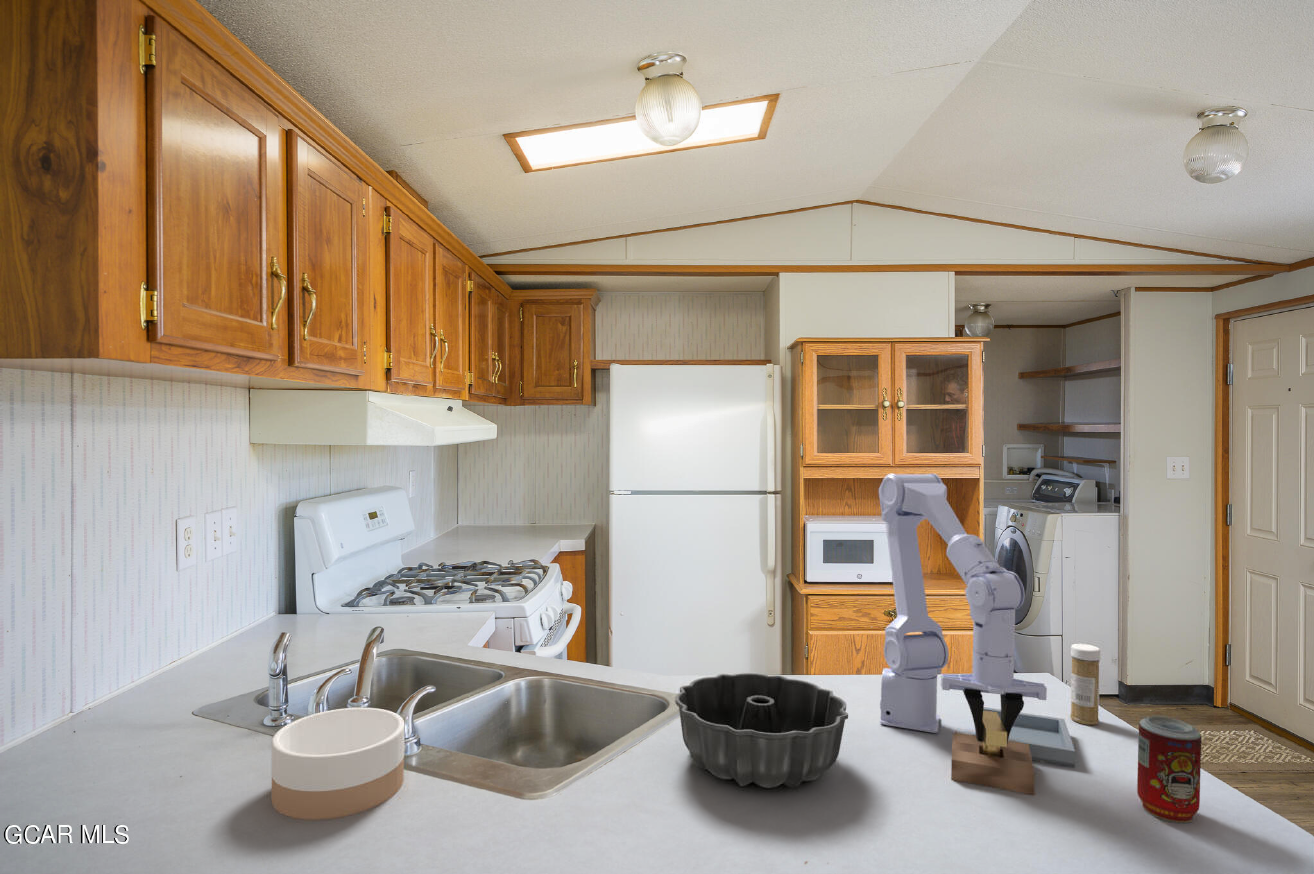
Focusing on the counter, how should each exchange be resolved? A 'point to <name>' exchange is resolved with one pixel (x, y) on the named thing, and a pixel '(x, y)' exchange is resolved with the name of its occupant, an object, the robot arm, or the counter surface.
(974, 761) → the slot block
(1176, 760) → the soda can
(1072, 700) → the sprinkles bottle
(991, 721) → the t key
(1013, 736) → the tray
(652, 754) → the counter surface
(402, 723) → the bowl
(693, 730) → the bundt pan
